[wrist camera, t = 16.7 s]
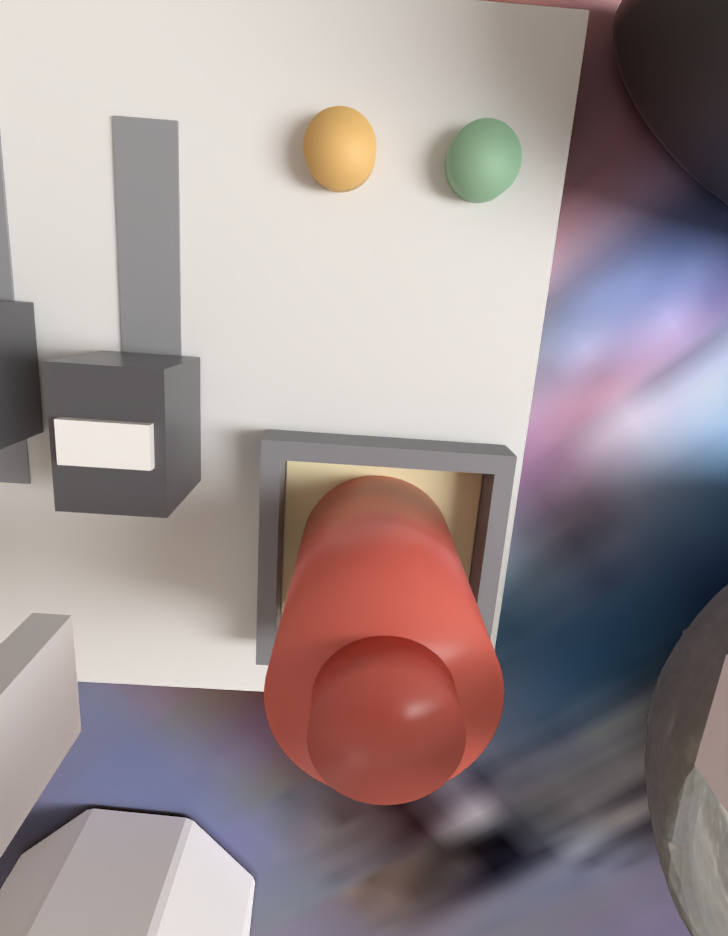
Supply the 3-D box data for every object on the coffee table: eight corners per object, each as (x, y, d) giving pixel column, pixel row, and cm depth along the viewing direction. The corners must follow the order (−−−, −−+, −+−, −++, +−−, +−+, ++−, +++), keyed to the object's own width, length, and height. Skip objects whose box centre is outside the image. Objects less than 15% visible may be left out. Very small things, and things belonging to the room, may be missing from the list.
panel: (-108, -16, 17) (-222, -94, 14) (564, 41, 18) (612, -20, 14) (-26, 642, 23) (-92, 700, 20) (476, 671, 24) (495, 732, 20)
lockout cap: (306, 469, 19) (258, 611, 10) (458, 481, 19) (540, 633, 10) (298, 606, 20) (248, 836, 12) (440, 617, 21) (498, 853, 12)
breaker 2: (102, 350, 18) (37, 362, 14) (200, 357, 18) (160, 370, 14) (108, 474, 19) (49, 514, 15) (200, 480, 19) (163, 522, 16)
